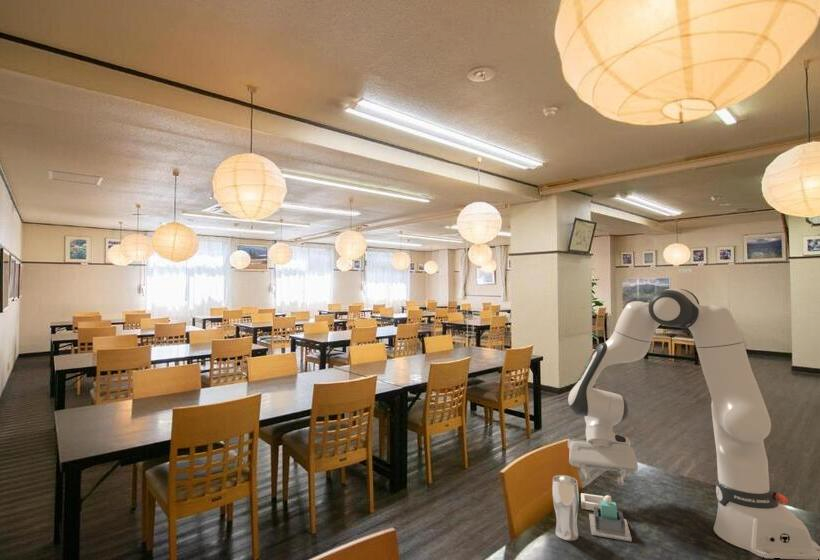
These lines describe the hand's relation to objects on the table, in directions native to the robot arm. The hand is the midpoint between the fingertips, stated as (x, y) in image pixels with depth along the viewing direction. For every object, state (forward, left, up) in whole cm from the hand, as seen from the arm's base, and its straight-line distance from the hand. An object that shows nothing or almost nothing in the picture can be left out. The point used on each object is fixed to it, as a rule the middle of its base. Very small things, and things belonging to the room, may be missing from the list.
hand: (604, 482), depth 128 cm
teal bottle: (+1, +11, -7) cm, 13 cm away
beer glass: (+13, +17, -9) cm, 23 cm away
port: (+1, +11, -8) cm, 14 cm away
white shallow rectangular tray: (+3, -2, -8) cm, 9 cm away
